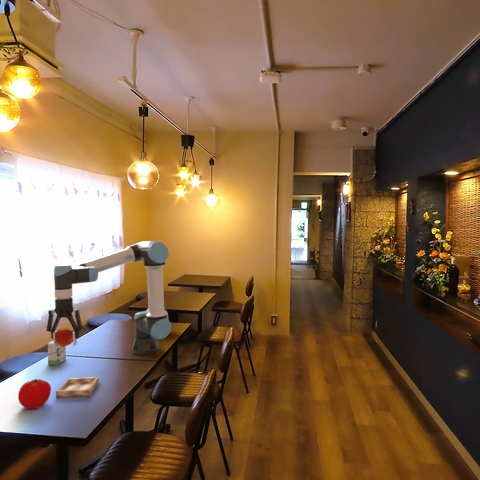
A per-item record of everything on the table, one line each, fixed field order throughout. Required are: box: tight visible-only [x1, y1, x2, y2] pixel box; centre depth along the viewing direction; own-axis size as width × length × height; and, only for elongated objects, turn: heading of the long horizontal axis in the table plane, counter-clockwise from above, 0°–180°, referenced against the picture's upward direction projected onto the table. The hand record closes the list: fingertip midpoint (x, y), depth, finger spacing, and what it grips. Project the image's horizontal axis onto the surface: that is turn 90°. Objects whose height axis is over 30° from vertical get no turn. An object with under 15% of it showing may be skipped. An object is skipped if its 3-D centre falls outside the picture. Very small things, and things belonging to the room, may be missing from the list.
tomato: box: [18, 378, 52, 410], centre depth 157 cm, size 12×12×11 cm
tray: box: [55, 376, 100, 399], centre depth 171 cm, size 14×14×3 cm
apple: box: [55, 327, 74, 347], centre depth 180 cm, size 8×8×10 cm
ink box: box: [47, 340, 67, 366], centre depth 206 cm, size 9×5×12 cm, turn 168°
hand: (65, 345), depth 180 cm, fingers closed on apple, 8 cm apart
